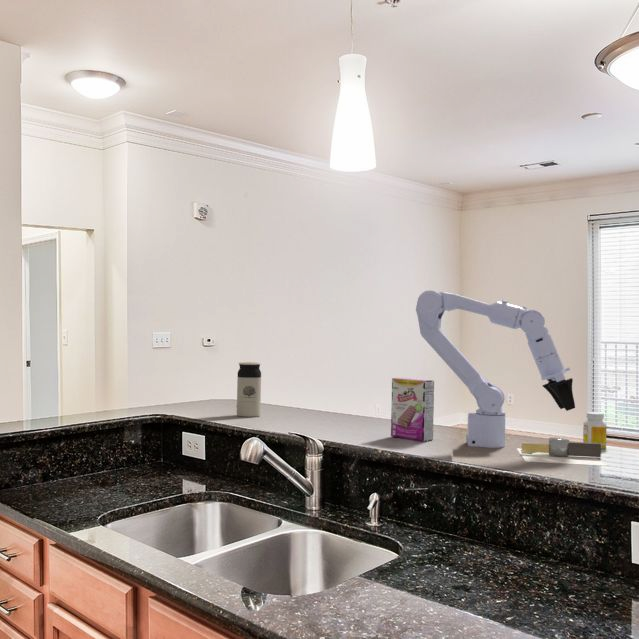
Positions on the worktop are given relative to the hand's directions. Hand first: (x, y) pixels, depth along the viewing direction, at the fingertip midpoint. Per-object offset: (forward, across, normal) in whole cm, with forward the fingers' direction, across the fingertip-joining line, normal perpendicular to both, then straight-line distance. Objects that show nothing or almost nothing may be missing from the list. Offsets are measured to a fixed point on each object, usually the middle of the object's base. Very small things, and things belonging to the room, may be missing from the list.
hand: (567, 408), depth 157 cm
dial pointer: (+9, -8, +7) cm, 14 cm away
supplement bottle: (+13, +8, -3) cm, 16 cm away
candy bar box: (-4, +14, +39) cm, 42 cm away
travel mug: (-27, +45, +91) cm, 105 cm away
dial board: (+10, -8, +8) cm, 15 cm away
